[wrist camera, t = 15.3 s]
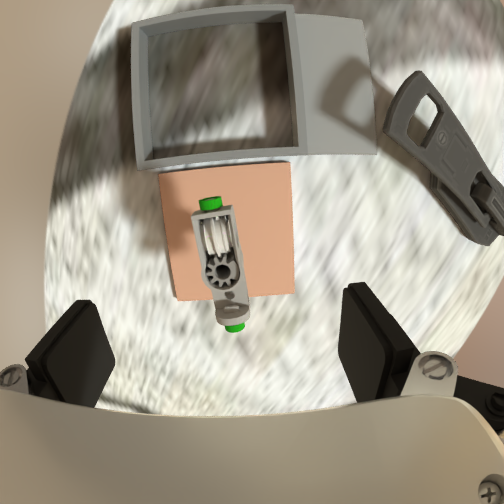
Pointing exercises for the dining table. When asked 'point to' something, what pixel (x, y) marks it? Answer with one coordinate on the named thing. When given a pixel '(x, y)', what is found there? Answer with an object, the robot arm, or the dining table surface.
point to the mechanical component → (222, 261)
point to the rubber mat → (247, 219)
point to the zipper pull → (449, 162)
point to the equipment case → (299, 78)
